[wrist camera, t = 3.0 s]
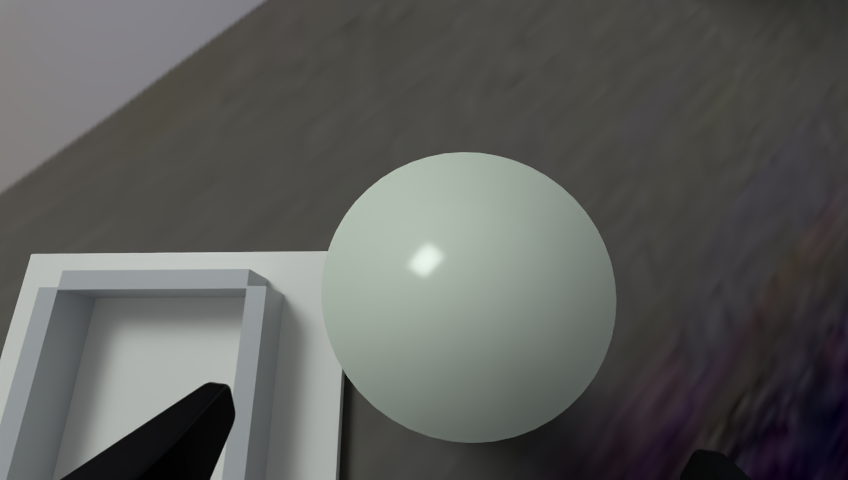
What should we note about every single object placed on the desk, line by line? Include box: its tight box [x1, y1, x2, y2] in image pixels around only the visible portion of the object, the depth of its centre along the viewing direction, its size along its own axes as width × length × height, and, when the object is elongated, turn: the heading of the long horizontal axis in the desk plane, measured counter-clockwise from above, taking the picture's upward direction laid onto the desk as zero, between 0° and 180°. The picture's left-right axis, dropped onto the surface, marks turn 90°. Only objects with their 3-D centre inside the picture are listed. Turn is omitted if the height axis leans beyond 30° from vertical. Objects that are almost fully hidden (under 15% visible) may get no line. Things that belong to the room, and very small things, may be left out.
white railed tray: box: [0, 251, 345, 480], centre depth 17 cm, size 12×15×3 cm
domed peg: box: [322, 152, 616, 443], centre depth 13 cm, size 5×5×12 cm
